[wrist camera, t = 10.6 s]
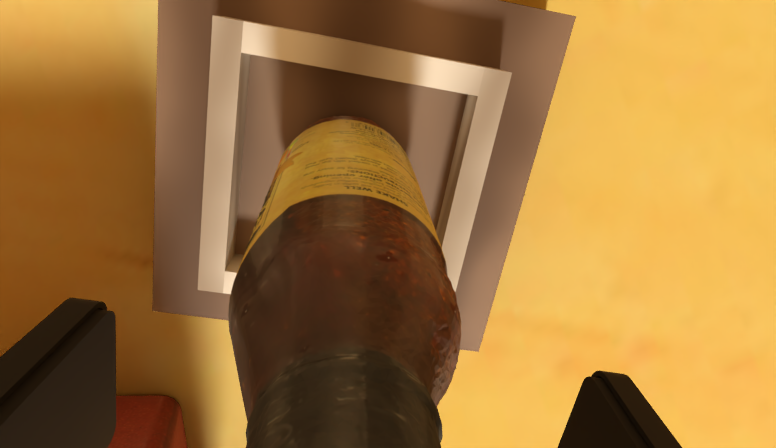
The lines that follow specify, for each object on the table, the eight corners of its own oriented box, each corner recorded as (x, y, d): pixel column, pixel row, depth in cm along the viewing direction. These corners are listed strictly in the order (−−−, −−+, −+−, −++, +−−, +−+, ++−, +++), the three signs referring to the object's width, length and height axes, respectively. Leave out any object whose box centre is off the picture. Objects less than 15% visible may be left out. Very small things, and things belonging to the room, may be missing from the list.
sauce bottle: (262, 132, 23) (-72, 566, 5) (391, 93, 23) (529, 409, 5) (309, 252, 26) (199, 828, 8) (426, 219, 26) (602, 740, 7)
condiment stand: (545, 18, 26) (595, 15, 21) (464, 314, 32) (486, 373, 27) (190, -55, 24) (139, -81, 19) (178, 276, 30) (136, 331, 25)
